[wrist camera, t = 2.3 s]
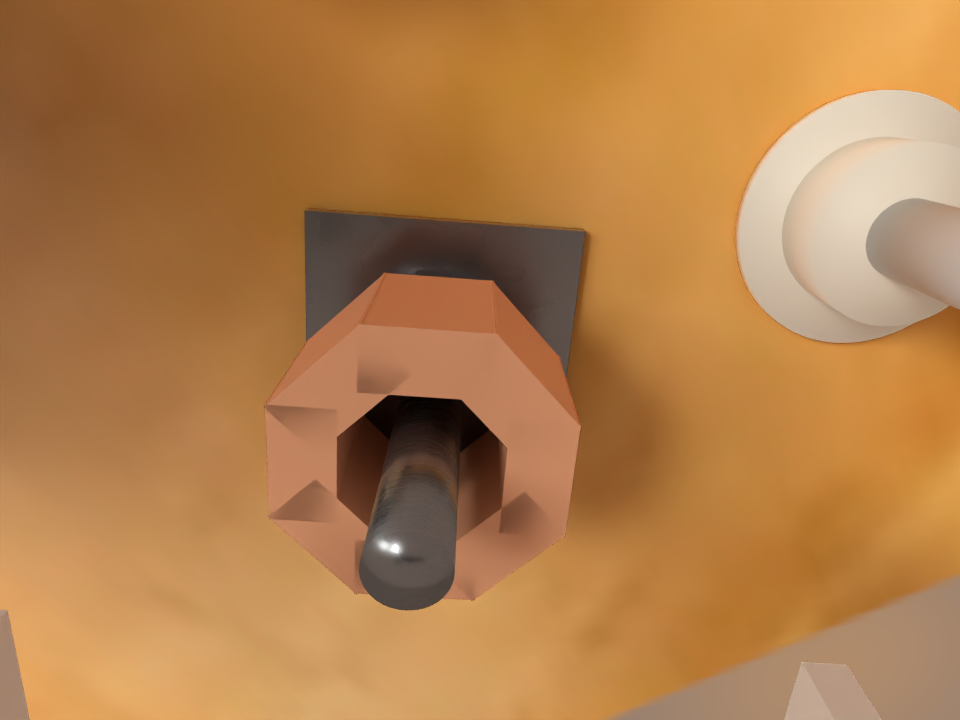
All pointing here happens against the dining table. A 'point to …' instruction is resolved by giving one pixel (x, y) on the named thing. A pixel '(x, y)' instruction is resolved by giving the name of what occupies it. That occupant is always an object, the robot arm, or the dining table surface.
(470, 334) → the collar
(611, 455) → the dining table surface
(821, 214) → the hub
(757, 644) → the dining table surface
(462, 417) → the stand
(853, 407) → the dining table surface
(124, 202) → the dining table surface
